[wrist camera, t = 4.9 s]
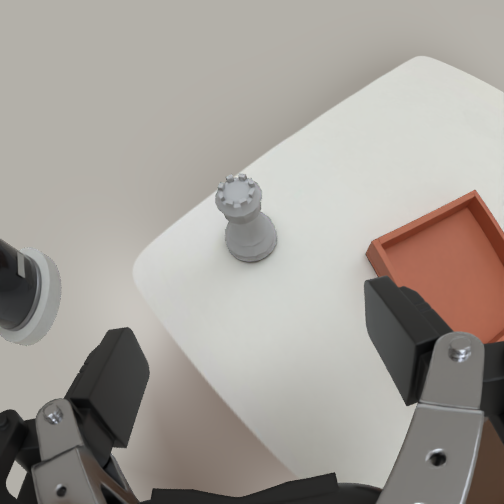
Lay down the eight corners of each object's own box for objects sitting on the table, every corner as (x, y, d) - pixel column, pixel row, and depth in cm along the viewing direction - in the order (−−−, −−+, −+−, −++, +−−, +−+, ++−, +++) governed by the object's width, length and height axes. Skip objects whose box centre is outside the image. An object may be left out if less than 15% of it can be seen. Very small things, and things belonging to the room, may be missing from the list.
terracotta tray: (432, 389, 20) (446, 389, 18) (365, 253, 26) (371, 240, 24) (526, 313, 21) (541, 305, 18) (465, 203, 26) (475, 189, 24)
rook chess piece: (283, 255, 27) (277, 206, 20) (232, 269, 27) (208, 225, 20) (269, 212, 29) (260, 155, 21) (222, 225, 29) (198, 172, 22)
